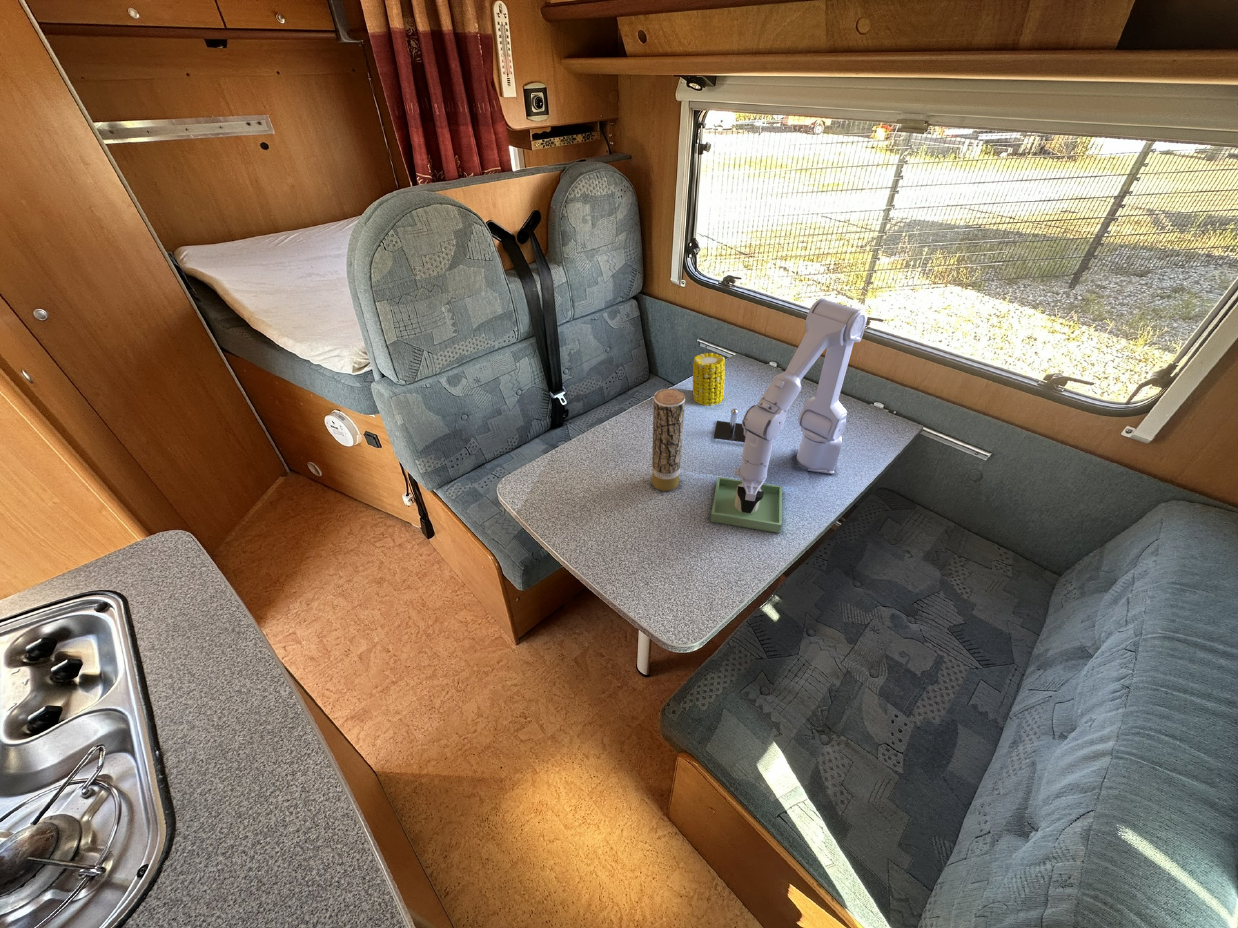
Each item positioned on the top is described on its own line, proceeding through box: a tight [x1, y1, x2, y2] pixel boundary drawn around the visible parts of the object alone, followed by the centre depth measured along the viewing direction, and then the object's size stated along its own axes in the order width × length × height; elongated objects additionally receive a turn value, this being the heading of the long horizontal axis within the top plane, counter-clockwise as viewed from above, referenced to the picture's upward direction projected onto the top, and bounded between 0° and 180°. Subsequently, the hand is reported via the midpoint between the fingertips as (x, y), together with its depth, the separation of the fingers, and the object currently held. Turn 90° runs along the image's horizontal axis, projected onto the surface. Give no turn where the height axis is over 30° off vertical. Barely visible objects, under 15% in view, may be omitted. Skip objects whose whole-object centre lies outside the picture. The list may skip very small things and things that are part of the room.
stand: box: [713, 408, 746, 444], centre depth 136 cm, size 9×9×8 cm
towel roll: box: [734, 483, 761, 514], centre depth 113 cm, size 5×5×5 cm
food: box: [692, 352, 726, 407], centre depth 148 cm, size 15×12×10 cm
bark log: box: [651, 388, 686, 492], centre depth 115 cm, size 7×7×25 cm
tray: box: [710, 476, 783, 534], centre depth 114 cm, size 15×13×2 cm
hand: (747, 503), depth 114 cm, fingers closed on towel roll, 5 cm apart
